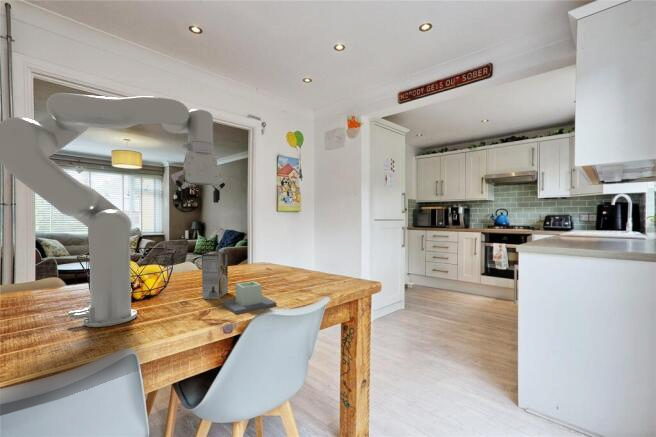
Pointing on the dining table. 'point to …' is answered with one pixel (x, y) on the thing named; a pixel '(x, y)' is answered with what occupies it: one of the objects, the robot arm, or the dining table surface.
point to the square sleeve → (248, 293)
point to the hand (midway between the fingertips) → (200, 202)
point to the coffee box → (214, 274)
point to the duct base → (238, 308)
